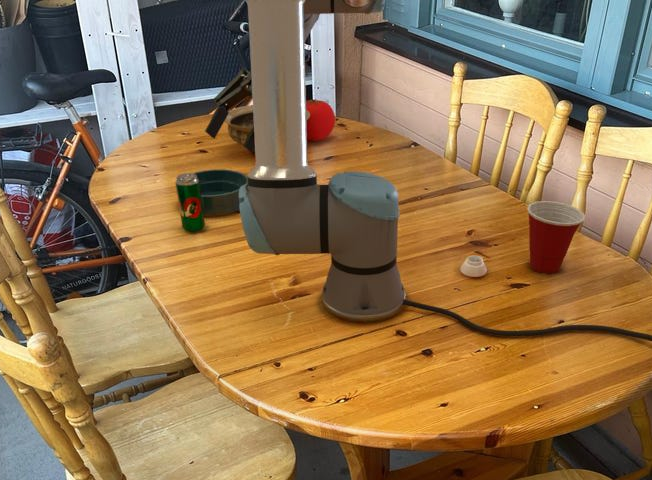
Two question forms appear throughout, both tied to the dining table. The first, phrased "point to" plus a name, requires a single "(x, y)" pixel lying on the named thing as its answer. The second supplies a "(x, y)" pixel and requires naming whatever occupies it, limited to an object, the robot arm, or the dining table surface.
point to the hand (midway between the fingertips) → (228, 141)
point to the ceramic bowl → (243, 123)
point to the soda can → (190, 202)
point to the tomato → (319, 120)
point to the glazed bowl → (220, 190)
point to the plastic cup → (551, 233)
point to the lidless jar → (473, 267)
